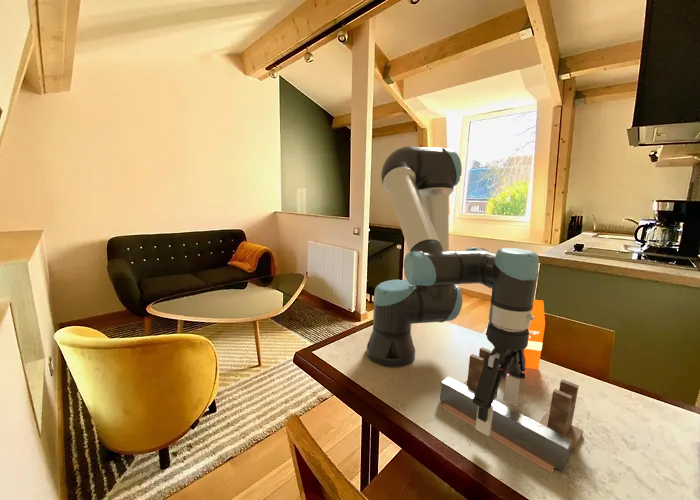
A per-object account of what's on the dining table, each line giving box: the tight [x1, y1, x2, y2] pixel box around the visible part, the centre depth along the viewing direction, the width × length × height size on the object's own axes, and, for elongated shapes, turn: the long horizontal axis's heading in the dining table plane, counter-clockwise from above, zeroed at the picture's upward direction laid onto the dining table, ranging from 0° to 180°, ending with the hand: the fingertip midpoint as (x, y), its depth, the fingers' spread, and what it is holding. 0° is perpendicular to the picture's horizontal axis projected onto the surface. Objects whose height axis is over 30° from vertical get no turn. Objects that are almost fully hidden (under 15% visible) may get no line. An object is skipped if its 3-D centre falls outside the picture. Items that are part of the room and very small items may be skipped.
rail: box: [439, 376, 572, 473], centre depth 67 cm, size 26×3×5 cm, turn 42°
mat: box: [441, 403, 555, 474], centre depth 67 cm, size 23×6×1 cm, turn 42°
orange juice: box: [524, 299, 546, 370], centre depth 93 cm, size 8×9×20 cm
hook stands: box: [462, 347, 584, 454], centre depth 72 cm, size 25×7×11 cm, turn 42°
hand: (497, 416), depth 67 cm, fingers open, 13 cm apart
